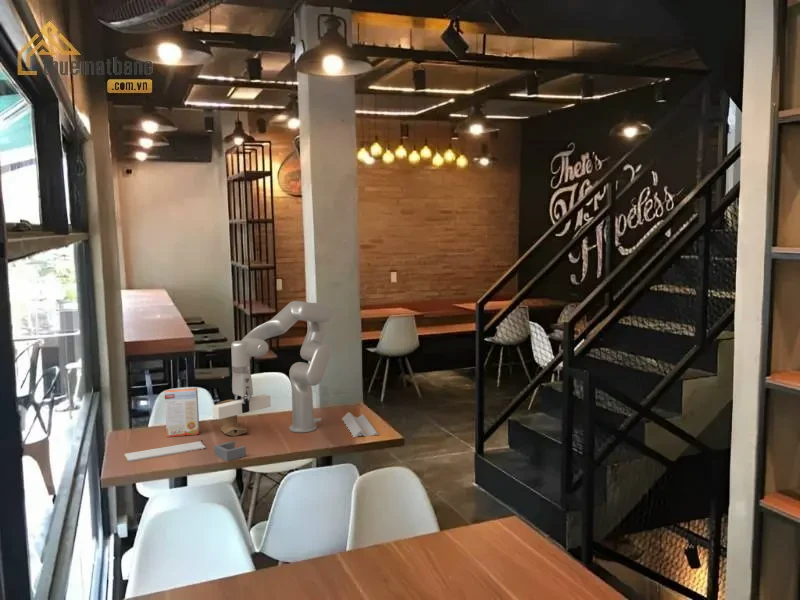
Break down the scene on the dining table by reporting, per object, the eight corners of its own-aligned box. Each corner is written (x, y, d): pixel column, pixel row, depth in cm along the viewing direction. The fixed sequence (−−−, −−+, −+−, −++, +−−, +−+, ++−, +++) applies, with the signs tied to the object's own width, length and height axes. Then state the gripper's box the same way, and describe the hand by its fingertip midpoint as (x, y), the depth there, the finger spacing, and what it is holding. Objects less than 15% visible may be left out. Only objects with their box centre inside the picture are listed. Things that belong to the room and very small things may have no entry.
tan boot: (214, 430, 308) (213, 398, 307) (240, 426, 313) (239, 395, 312) (220, 439, 295) (219, 406, 293) (247, 435, 300) (246, 403, 298)
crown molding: (378, 437, 298) (378, 429, 298) (352, 439, 295) (352, 431, 295) (364, 418, 328) (364, 411, 328) (341, 420, 325) (341, 412, 325)
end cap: (232, 450, 279) (232, 441, 279) (245, 456, 271) (245, 446, 271) (214, 455, 273) (214, 445, 273) (227, 461, 266) (226, 451, 265)
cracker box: (199, 431, 306) (197, 387, 304) (198, 435, 300) (196, 390, 298) (167, 433, 303) (165, 389, 301) (166, 437, 297) (164, 392, 295)
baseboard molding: (123, 455, 276) (128, 464, 265) (123, 448, 275) (127, 457, 265) (198, 442, 291) (205, 450, 281) (198, 436, 291) (205, 443, 281)
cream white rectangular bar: (264, 404, 296) (264, 394, 295) (270, 406, 293) (270, 395, 292) (213, 417, 277) (212, 405, 277) (218, 419, 274) (218, 407, 273)
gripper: (259, 371, 279) (260, 413, 281) (238, 365, 292) (240, 405, 293) (243, 373, 274) (244, 416, 276) (223, 368, 286) (225, 408, 288)
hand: (242, 410), depth 285 cm, fingers closed on cream white rectangular bar, 4 cm apart
